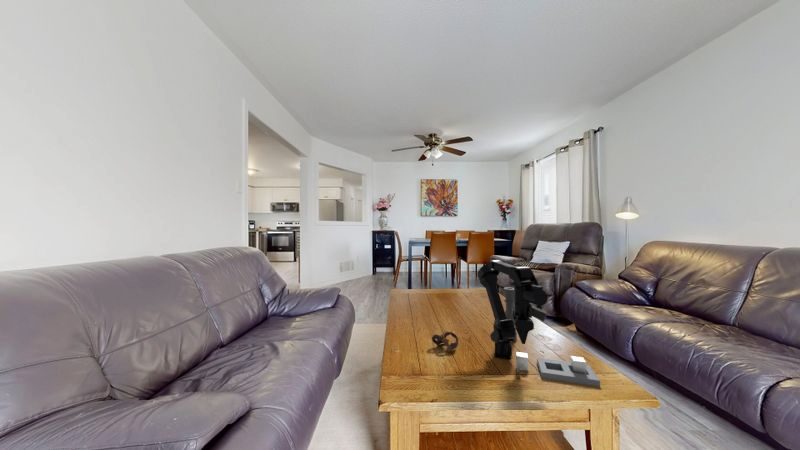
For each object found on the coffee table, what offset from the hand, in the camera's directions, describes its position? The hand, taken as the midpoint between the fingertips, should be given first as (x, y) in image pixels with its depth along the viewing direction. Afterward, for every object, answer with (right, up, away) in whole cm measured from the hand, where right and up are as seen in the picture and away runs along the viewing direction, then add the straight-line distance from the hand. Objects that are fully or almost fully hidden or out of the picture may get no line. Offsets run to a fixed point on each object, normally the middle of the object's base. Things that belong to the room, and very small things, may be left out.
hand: (522, 339), depth 110 cm
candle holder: (+7, -12, +30) cm, 33 cm away
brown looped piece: (-27, -13, +21) cm, 36 cm away
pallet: (+14, -12, -5) cm, 19 cm away
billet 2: (+18, -11, -6) cm, 22 cm away
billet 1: (0, -12, 0) cm, 12 cm away
